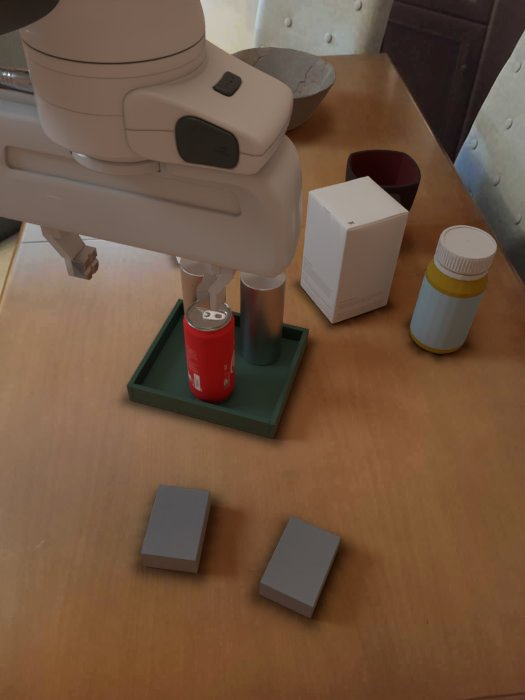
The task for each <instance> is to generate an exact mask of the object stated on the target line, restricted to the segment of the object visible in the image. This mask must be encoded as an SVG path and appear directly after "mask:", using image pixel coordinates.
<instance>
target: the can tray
mask: <svg viewBox="0 0 525 700" xmlns="http://www.w3.org/2000/svg"><path fill="white" fill-rule="evenodd" d="M231 311H232V314H233V316H234V332H235V386H234V389H233V391H232V392H231V394H230V396H229V397H228V398H227V399H226V400H225V401H223V402H221V403H218V404H210V403H206V402H202V401H199V400H198V399H197V398H196V397H195V395H194V394H193V393H192V391H191V389H190V386H189V376H188V366H187V355H186V345H185V334H184V324H183V320H184V316H185V314H184V304H183V298H178V299H177V301H176V303H175V304H174V306H173V307H172V309H171V311H170V313H169V314H168V316H167V317H166V319H165V320H164V322H163V324H162V326H161V327H160V329H159V331H158V333H157V334H156V335H155V337H154V339H153V340H152V342H151V344H150V346H149V347H148V349H147V351H146V352H145V354H144V355H143V357H142V359H141V361H140V362H139V364H138V366H137V367H136V369H135V370H134V372H133V374H132V375H131V377H130V379H129V381H128V382H127V384H126V390H127V395H128V399H129V401H132V402H135V403H139V404H143V405H147V406H151V407H155V408H158V409H162V410H166V411H169V412H172V413H173V412H174V413H177V414H181V415H184V416H188V417H191V418H195V419H199V420H202V421H207V422H210V423H213V424H217V425H221V426H224V427H229V428H232V429H236V430H239V431H243V432H246V433H251V434H255V435H258V436H261V437H265V438H270V439H274V438H275V436H276V434H277V430H278V427H279V425H280V422H281V419H282V416H283V413H284V410H285V408H286V405H287V402H288V400H289V396H290V394H291V392H292V391H291V390H292V388H293V385H294V382H295V379H296V376H297V374H298V371H299V368H300V365H301V362H302V360H303V357H304V355H305V352H306V348H307V346H308V341H309V334H310V333H309V332H310V329H309V328H306V327H303V326H298V325H293V324H289V323H285V322H283V328H282V342H281V353H280V356H279V358H278V359H277V360H276V361H274V362H273V363H271V364H268V365H254V364H251V363H249V362H247V361H246V360H245V359H244V358H243V357H242V355H241V353H240V312H238V311H233V310H231Z"/></svg>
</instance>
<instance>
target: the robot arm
mask: <svg viewBox="0 0 525 700" xmlns="http://www.w3.org/2000/svg"><path fill="white" fill-rule="evenodd" d="M17 30H18V32H19V37H20V40H21V45H22V49H23V53H24V57H25V62H26V66H27V68H22V67H7V66H0V217H1V218H4V219H8V220H12V221H13V220H14V221H18V222H23V223H27V224H31V225H36V226H39V227H40V231H41V235H42V236H43V238H44V239H45V240H46V241H47V242H48V243H49V245H50V246H51V247H52V248H53V249H54V250H55V251H56V252H57V253H58V255H59V256H60V257H61V258H62V259H64V264H65V267H66V270H67V275H68V277H72V278H77V279H80V280H86V281H90V280H92V279H93V275H94V274H96V273H97V272H98V270H99V266H100V261H99V259H98V258H97V256H98V251H97V248H96V247H95V246H90V245H86V243H85V242H84V240H83V239H82V238H81V236H84V237H88V238H93V239H96V240H97V239H98V240H102V241H106V242H110V243H114V244H120V245H123V246H129V247H132V248H137V249H141V250H146V251H150V252H155V253H160V254H164V255H167V256H172V257H175V258H176V257H181V258H185V259H189V260H194V261H198V262H203V263H207V264H211V270H212V274H208V273H205V274H204V276H203V278H202V282H201V283H199V285H198V287H197V288H196V297H197V298H198V300H197V306H199V307H202V308H206V309H210V310H214V311H219V309H220V307H221V305H222V303H223V301H224V298H225V294H226V295H227V286H228V285H229V284H230V282H231V281H232V280H234V277H235V276H236V273H237V271H238V272H241V271H242V272H247V273H251V274H255V275H260V276H264V277H268V278H274V277H276V276H278V275H280V274H281V273H282V272H284V271H285V272H286V271H287V269H288V268H289V267H290V266H291V264H292V262H293V260H294V258H295V255H296V252H297V249H298V247H299V244H300V240H301V236H302V227H303V210H304V209H303V205H304V203H303V201H304V200H303V199H304V197H303V196H304V195H303V192H304V191H303V175H302V165H301V160H300V156H299V152H298V150H297V148H296V146H295V144H294V143H293V141H292V140H291V139H290V138H289V136H288V135H286V133H287V131H286V130H287V127H288V125H289V122H290V118H291V114H292V109H293V93H292V91H291V89H290V88H289V87H288V86H287V85H286V84H284V83H283V82H281V81H279V80H278V79H276V78H274V77H272V76H270V75H268V74H266V73H264V72H262V71H260V70H258V69H256V68H254V67H252V66H250V65H249V64H247V63H245V62H243V61H241V60H239V59H238V58H236V57H234V56H232V55H231V54H232V53H229V52H227V51H226V50H224V49H222V48H220V47H219V46H218V45H216V44H214V43H213V42H211V41H210V40H207V36H206V33H207V32H206V18H205V14H204V8H203V5H202V1H201V0H0V36H2V35H6V34H10V33H12V32H14V31H17ZM213 274H214V275H213Z"/></svg>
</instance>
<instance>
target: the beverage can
mask: <svg viewBox="0 0 525 700" xmlns="http://www.w3.org/2000/svg"><path fill="white" fill-rule="evenodd" d="M232 311H233V310H232V309H231V307H230V305H229V304H227V302H226V303H225V302H223V303H222V305H221V307H220V309H219V311H214V310H210V309H206V308H202V307H199V306H197V301H196V302H194V303H192V304H191V305H190V306H189V307H188V308H187V310H186V313H185V316H184V320H183V324H184V334H185V345H186V355H187V366H188V376H189V386H190V389H191V391H192V393H193V394H194V395H195V397H196V398H197V399H198V400H199V401H202V402H206V403H210V404H218V403H221V402H223V401H225V400H226V399H227V398H228V397H229V396H230V394H231V392H232V391H233V389H234V386H235V332H234V316H233V314H232Z"/></svg>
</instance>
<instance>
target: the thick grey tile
mask: <svg viewBox="0 0 525 700" xmlns="http://www.w3.org/2000/svg"><path fill="white" fill-rule="evenodd" d="M152 505H153V506H152V509H151V513H150V517H149V520H148V523H147V524H148V525H147V527H146V532H145V536H144V539H143V542H142V546H141V550H140V556H141V560H142V563H143V566H144V567H146V568H153V569H162V570H170V571H177V572H184V573H192V574H198V572H199V566H200V561H201V557H202V552H203V547H204V542H205V537H206V533H207V532H206V531H207V527H208V521H209V517H210V512H211V508H212V507H211V506H212V501H211V491H210V490H205V489H198V488H190V487H181V486H175V485H166V484H165V485H164V484H158V487H157V491H156V495H155V498H154V502H153V504H152Z"/></svg>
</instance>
